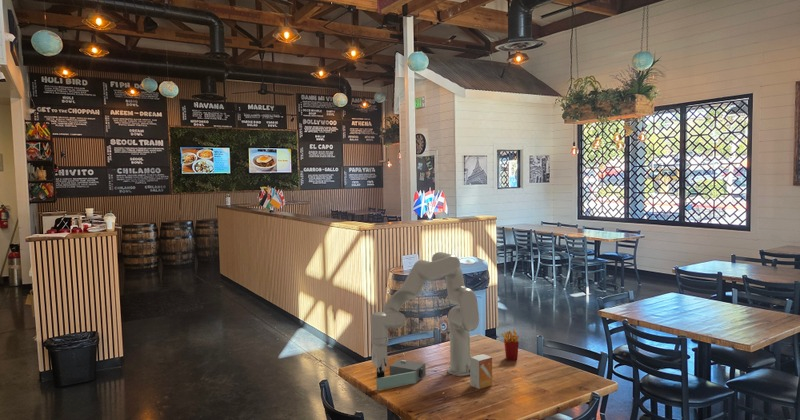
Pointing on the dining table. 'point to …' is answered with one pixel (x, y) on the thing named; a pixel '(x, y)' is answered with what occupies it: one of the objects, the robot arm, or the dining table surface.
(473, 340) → the dining table surface
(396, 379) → the door
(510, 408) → the dining table surface
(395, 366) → the box
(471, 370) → the small box
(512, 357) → the french fries
